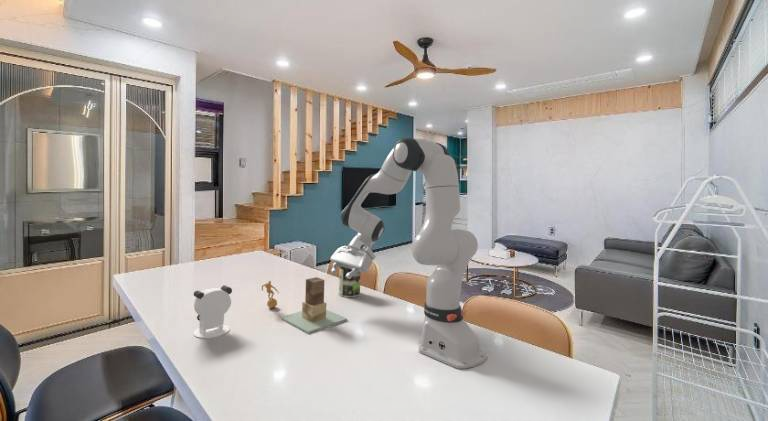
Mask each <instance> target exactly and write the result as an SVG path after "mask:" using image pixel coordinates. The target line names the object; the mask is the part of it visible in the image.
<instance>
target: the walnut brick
mask: <svg viewBox="0 0 768 421" xmlns="http://www.w3.org/2000/svg"><path fill="white" fill-rule="evenodd" d="M304 300H305V301H304V302H306V303H308V304H310V305H312V306H314V305H318V304H322V303H324V302H325V279H323V278H319V277H318V276H317V277H311V278H305V299H304Z"/></svg>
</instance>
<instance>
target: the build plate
mask: <svg viewBox="0 0 768 421" xmlns="http://www.w3.org/2000/svg"><path fill="white" fill-rule="evenodd" d="M280 319H281V320H282V322H283V321H284V322H286V323H287V324H289V325H290V326H293V327H294V328H296V329H298V330H300V331H302V332H304V333H306V334H307V335H308V334H312V333H314V332H317V331H321V330H324V329H327V328H329V327H332V326H336V325H339V324H341V323H343V322H347V321H348V318H346V316H345V317H344V316H342V315H339V314H338V313H336V312H333V311H331V310H329V309H326V318H325V319H322V320H318V321H315V322H310V321H308V320H306V319H304V318H302V310H301V311H297V312H293V313H291V314H287V315H283V316H280Z"/></svg>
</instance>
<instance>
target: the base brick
mask: <svg viewBox="0 0 768 421" xmlns="http://www.w3.org/2000/svg"><path fill="white" fill-rule="evenodd" d="M301 307H302V309H301V311H302V318H304V319H306V320H308V321H310V322H315V321H318V320H322V319H325V318H326V310H327V302H325V301H324V303H322V304H318V305H314V306H312V305H310V304H308V303H306V302H305V301H303V302H302V304H301Z"/></svg>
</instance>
